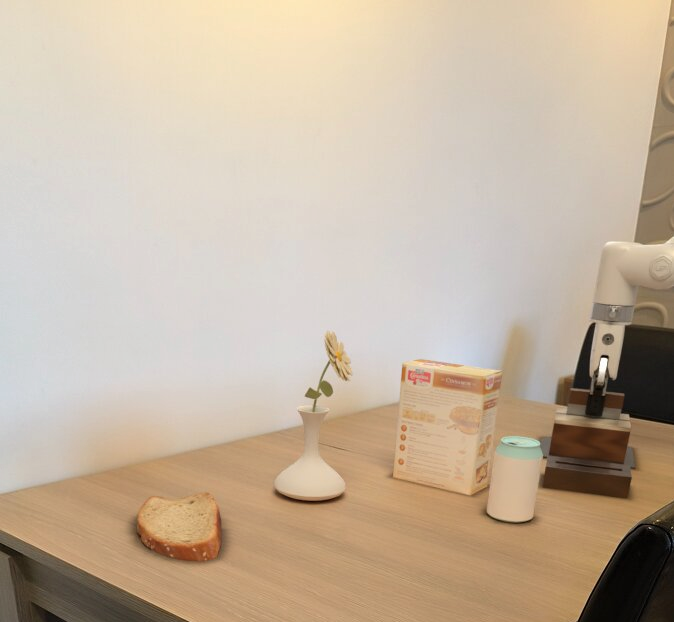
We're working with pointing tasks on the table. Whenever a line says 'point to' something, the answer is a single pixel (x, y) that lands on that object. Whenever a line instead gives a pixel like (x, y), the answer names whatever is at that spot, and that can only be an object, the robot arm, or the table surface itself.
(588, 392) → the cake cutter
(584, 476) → the slotted wooden block
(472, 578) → the table surface
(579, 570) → the table surface
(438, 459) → the coffeecake box
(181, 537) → the bread slice
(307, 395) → the flower in vase
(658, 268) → the robot arm
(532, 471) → the can
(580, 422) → the wooden box
